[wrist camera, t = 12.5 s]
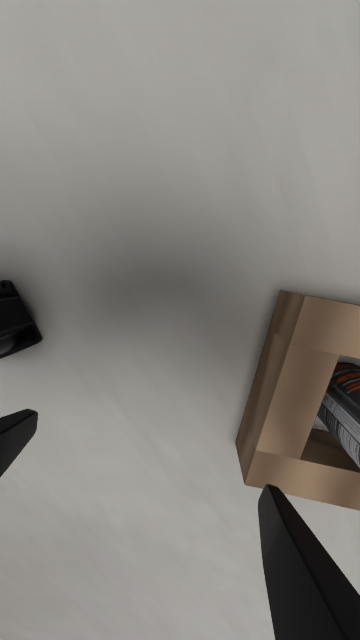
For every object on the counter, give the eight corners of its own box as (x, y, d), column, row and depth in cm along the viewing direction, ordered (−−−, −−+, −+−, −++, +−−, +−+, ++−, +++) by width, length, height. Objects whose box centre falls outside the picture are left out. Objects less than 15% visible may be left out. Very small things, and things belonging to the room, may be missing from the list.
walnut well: (235, 443, 23) (244, 484, 18) (280, 290, 19) (305, 295, 14) (392, 477, 22) (440, 528, 18) (469, 326, 18) (555, 344, 14)
